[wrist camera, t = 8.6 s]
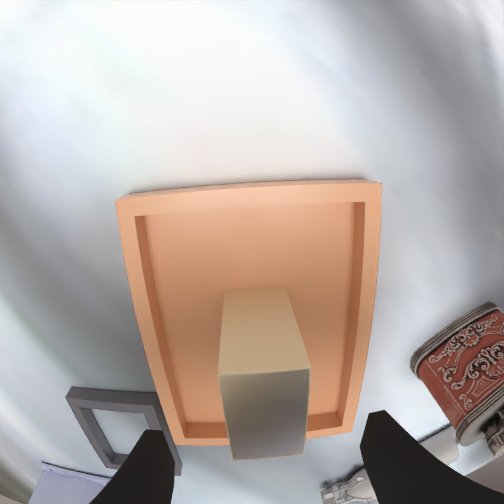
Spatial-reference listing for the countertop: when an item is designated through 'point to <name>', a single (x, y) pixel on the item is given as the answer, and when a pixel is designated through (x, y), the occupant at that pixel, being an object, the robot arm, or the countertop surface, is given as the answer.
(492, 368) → the lighter
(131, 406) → the socket
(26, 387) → the countertop surface
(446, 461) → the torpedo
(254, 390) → the tan rectangular block
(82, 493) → the robot arm
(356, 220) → the parts tray
